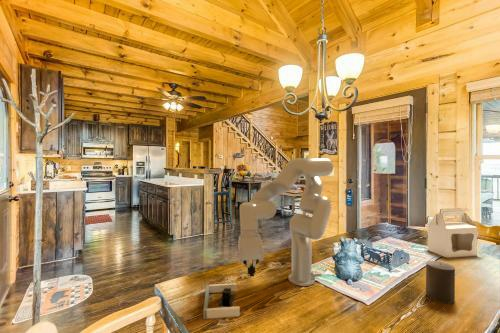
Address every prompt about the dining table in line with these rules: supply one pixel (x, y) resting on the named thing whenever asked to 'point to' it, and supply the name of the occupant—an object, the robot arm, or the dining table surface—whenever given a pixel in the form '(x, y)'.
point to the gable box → (461, 233)
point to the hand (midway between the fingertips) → (251, 275)
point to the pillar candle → (440, 281)
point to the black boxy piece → (226, 298)
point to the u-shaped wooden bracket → (224, 310)
